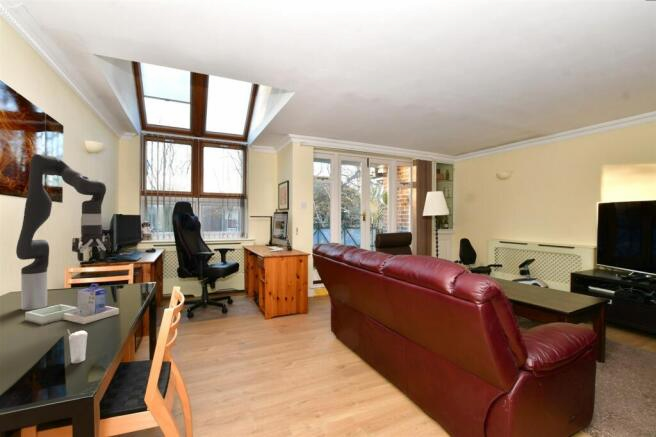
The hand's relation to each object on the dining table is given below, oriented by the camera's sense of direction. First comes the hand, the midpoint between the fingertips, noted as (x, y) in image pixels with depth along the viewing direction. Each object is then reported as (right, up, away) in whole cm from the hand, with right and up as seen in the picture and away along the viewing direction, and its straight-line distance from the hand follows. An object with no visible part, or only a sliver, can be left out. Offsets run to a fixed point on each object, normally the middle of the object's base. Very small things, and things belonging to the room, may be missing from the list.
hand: (91, 260), depth 137 cm
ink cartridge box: (0, -26, 0) cm, 26 cm away
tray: (-16, -25, -2) cm, 30 cm away
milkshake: (+28, -26, -42) cm, 57 cm away
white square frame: (0, -25, 0) cm, 25 cm away
